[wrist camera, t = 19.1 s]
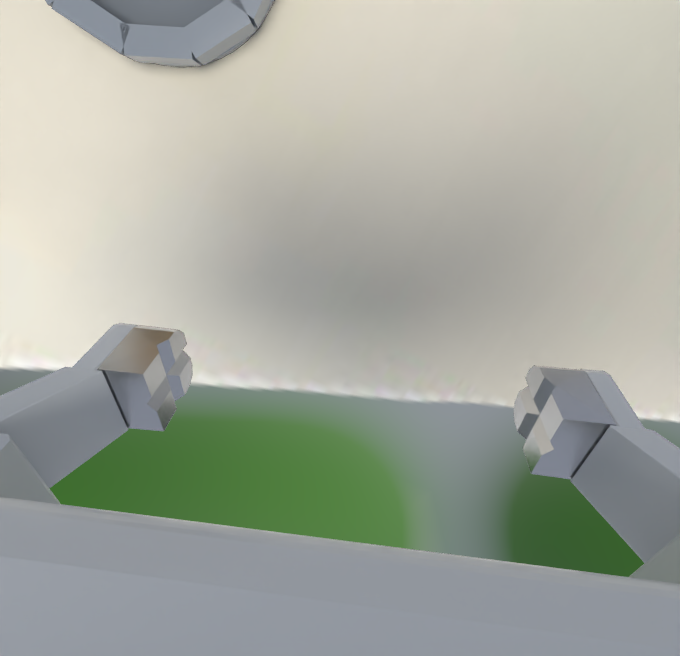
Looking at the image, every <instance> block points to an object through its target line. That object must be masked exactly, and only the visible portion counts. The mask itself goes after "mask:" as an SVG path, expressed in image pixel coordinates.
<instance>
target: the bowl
mask: <svg viewBox="0 0 680 656" xmlns="http://www.w3.org/2000/svg"><path fill="white" fill-rule="evenodd" d="M45 1H46V2H47V4H48V5H49V6H51V7H52V9H53V10H55V11H56V12H58V13H59V14H61V15H62V16H64V17H65V18H67V19H68V20H70V21H72V22H73V23H75V24H76V25H78V26H79V27H81V28H82V29H84V30H85V31H87V32H88V33H90V34H91V35H93V36H94V37H96V38H97V39H99V40H100V41H102V42H103V43H105V44H107V45H108V46H110V47H111V48H113V49H114V50H116V51H117V52H119V53H120V54H122V55H124V56H126V57H128V58H130V59H132V60H134V61H137V62H144V63H154V64H158V65H164V66H171V67H192V66H201V65H203V64H204V65H205V64H207V63H210V62H213V61H216V60H219V59H221V58H223V57H225V56H226V55H228V54H230V53H232V52H234V51H235V50H236V49H237V48H239V47H240V46H241V45H243V44H244V43H245V42H246V41H247V40H248V39H249V38H250V37H251V36H252V35H253V34H254V33H255V32H256V31H257V29H258V28H259V27H260V25H261V24H262V22H263V21H264V20H265V18H266V17H267V15H268V13H269V11H270V9H271V7H272V5H273V4H274V2H275V0H45Z"/></svg>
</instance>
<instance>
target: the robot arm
mask: <svg viewBox="0 0 680 656" xmlns="http://www.w3.org/2000/svg"><path fill="white" fill-rule="evenodd" d="M186 344H187V342H186V339H185V335H184V333H183V332H182V331H180V330H176V329H168V328H160V327H152V326H143V325H132V324H124V323H118V324H115V325H113V326H112V327H111V328H110V329H109V330H108V331H107V332H106V333H105V334H104V335H103V336H102V337H101V338H100V339H99V340H98V341H97V342H96V343H95V344H94V345H93V346H92V348H91V349H90V350H89V351H88V352H87V353H86V354H85V355H84V356H83V357H82V358H81V359H80V360H79V361H78V362H77V363H76V364H75V365H74V366H73V367H64V368H62V369H60V370H57V371H55V372H53V373H51V374H48V375H46V376H44V377H42V378H39V379H37V380H35V381H32V382H30V383H28V384H26V385H23V386H21V387H19V388H17V389H15V390H12V391H10V392H8V393H6V394H3V395H1V396H0V656H680V448H678V447H677V446H676V445H674V444H673V443H671V442H670V441H668V440H667V439H665V438H664V437H662V436H661V435H660V434H658V433H657V432H655V431H654V430H648V429H645V428H644V426H643V425H642V423H641V422H640V420H639V419H638V417H637V416H636V414H635V413H634V411H633V410H632V408H631V406H630V405H629V403H628V402H627V400H626V399H625V397H624V396H623V394H622V393H621V391H620V390H619V388H618V386H617V385H616V383H615V382H614V380H613V379H612V377H611V376H610V375H609V374H608V373H606V372H605V371H596V370H583V369H580V370H577V369H567V368H556V367H545V366H535V365H534V366H533V367H532V368H531V369H530V370H529V371H528V373H527V375H526V378H525V379H526V381H527V384H528V386H527V387H526V388H524V389H523V390H521V391H519V393H518V395H517V398H516V400H515V405H514V421H515V425H516V429H517V431H518V432H519V433H520V434H521V435H522V436H523V437H524V438H525V439H526V442H525V444H524V446H523V451H524V454H525V457H526V460H527V463H528V466H529V469H530V472H531V474H537V475H544V476H551V477H559V478H565V479H572V480H571V482H572V483H573V484H574V485H575V487H576V488H577V489H578V490H579V491H580V492H581V493H582V494H583V495H584V496H585V498H586V499H587V500H588V501H589V502H590V503H591V504H592V505H593V506H594V508H595V509H596V510H597V511H598V512H599V513H600V514H601V515H602V516H603V517H604V519H605V520H606V521H607V522H608V523H609V524H610V525H611V526H612V527H613V529H615V531H616V532H617V533H618V534H619V535H620V536H621V537H622V538H623V540H624V541H625V542H626V543H627V544H628V545H629V546H630V547H631V548H632V550H633V551H634V552H635V553H636V554H637V555H638V556H639V557H640V558H641V560H643V562H644V563H645V564H644V565H642V566H641V567H640V568H639V569H638V570H637V571H635V572H634V573H633V574H632V575H631V576H630V577H622V576H614V575H606V574H598V573H591V572H583V571H574V570H568V569H559V568H551V567H544V566H536V565H529V564H521V563H513V562H505V561H498V560H490V559H482V558H474V557H466V556H459V555H450V554H443V553H435V552H428V551H420V550H412V549H405V548H397V547H389V546H381V545H374V544H366V543H358V542H350V541H342V540H334V539H327V538H319V537H311V536H303V535H295V534H288V533H279V532H272V531H264V530H256V529H248V528H240V527H233V526H225V525H217V524H209V523H201V522H193V521H186V520H177V519H171V518H163V517H155V516H147V515H139V514H132V513H124V512H116V511H108V510H101V509H100V510H99V509H93V508H85V507H76V506H70V505H62V504H60V503H59V501H58V500H57V498H56V497H55V496H54V494H53V493H52V492H51V490H50V489H49V488H50V487H52V486H53V485H54V484H56V483H57V482H58V481H60V480H61V479H62V478H64V477H65V476H67V475H68V474H69V473H71V472H72V471H73V470H75V469H76V468H77V467H79V466H80V465H81V464H83V463H84V462H85V461H87V460H88V459H89V458H91V457H92V456H94V455H95V454H96V453H98V452H99V451H100V450H102V449H103V448H104V447H106V446H107V445H108V444H110V443H111V442H113V441H114V440H115V439H117V438H118V437H119V436H121V435H122V434H123V433H125V432H126V431H127V430H128V428H133V429H146V430H156V431H164V430H165V428H166V427H167V425H168V423H169V421H170V420H171V418H172V416H173V414H174V413H175V411H176V405H175V402H174V401H176V400H177V399H179V398H181V397H182V396H184V395H185V393H186V392H187V390H188V388H189V386H190V383H191V378H192V362H191V358H190V357H189V356H188V355H187V354H186V353H185V352H184V351H183V349H184V347H185V346H186Z"/></svg>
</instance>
